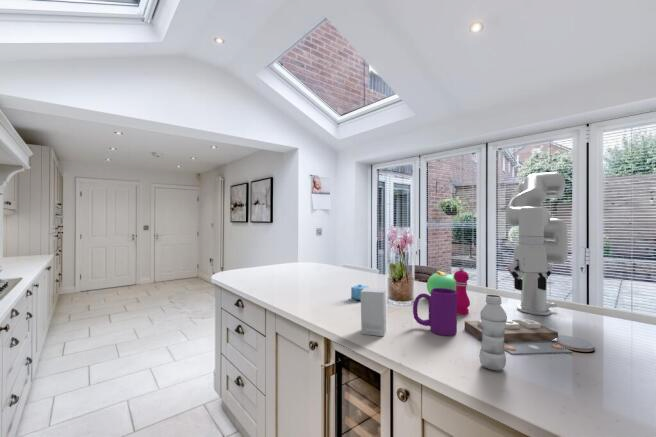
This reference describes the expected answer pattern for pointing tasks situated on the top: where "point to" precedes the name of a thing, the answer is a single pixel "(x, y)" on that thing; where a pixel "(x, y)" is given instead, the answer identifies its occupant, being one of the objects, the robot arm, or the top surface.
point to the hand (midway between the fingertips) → (530, 289)
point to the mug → (439, 311)
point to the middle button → (511, 325)
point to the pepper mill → (462, 291)
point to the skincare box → (373, 311)
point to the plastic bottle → (493, 334)
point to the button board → (516, 333)
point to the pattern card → (534, 348)
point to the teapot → (357, 291)
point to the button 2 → (530, 324)
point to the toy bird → (441, 281)
